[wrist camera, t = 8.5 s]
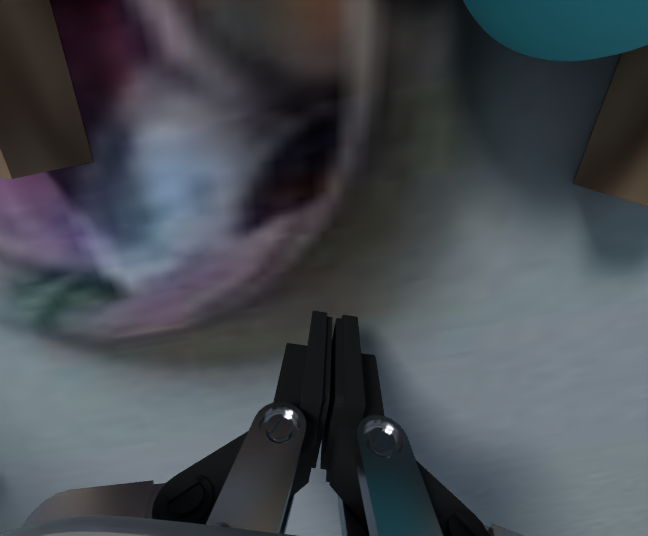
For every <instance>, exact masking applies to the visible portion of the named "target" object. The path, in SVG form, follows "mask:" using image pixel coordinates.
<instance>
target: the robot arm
mask: <svg viewBox="0 0 648 536" xmlns="http://www.w3.org/2000/svg"><path fill="white" fill-rule="evenodd" d="M321 440H322V447H321V469H326V470H327V474H326V482H330V486H331V487H332V488H333V490H334V491H335V492H336V493H337V494H338V507H339V514H340V522H341V530H342V536H523V535H521V534H518V533H515V532H513V531H510V530H507V529H505V528H502V527H500V526H497V525H494V524H492V525H491V526H490V527H488V526H485V525H483V523H482V522H481V521H480V520H479V519H478V518H477V517H476V515H475V514H474V513H473V512H471V511H470V510H469V509H468V508H467V507H466V506H465V505H464V504H463V503H462V502H461V501H460V500H458V499H457V498H456V497H455V496H454V495H453V494H452V493H451V492H450V491H449V490H448V489H447V488H445V487H444V486H443V485H442V484H441V483H440V482H439V481H438V480H437V479H436V478H435V477H434V476H433V475H431V474H430V473H429V472H428V471H427V470H426V469H425V468H424V467H423V466H422V465H421V464H420V463H418V462H417V461H416V459H415V456H414V454H413V451H412V448H411V445H410V443H409V440H408V437H407V435H406V433H405V432H404V430H403V429H402V428H401V426H400V425H399V424H398V423H396V422H395V421H393V420H392V419H390V418H388V417H385V416H384V410H383V403H382V397H381V390H380V383H379V377H378V370H377V363H376V358H375V356H374V355H369V354H362V353H361V349H360V338H359V327H358V317H354V316H347V315H343V316H342V319H341V318H337V319H336V323H335V328H334V333H333V338H332V317H327V313H326V312H319V311H313V313H312V319H311V326H310V333H309V339H308V346H305V345H298V344H291V343H287V345H286V349H285V354H284V358H283V363H282V367H281V371H280V376H279V380H278V385H277V389H276V394H275V398H274V403H271V404H269V405H266V406H265V407H263V408H262V409H261V410H260V411H259V412H258V413H257V415H256V416H255V418H254V420H253V423H252V425H251V427H250V429H249V431H248V432H246V433H244V434H243V435H241V436H239V437H238V438H236V439H235V440H233V441H231V442H230V443H228V444H226V445H225V446H223V447H221V448H220V449H218V450H217V451H215V452H213V453H212V454H210V455H208V456H207V457H205V458H204V459H202V460H200V461H199V462H197V463H195V464H194V465H192V466H190V467H189V468H187V469H186V470H184V471H182V472H181V473H179V474H177V475H176V476H174V477H173V478H172V479H171V480H169V481H168V482H167V483H162V484H154V482H153V480H152V481H144V482H135V483H126V484H117V485H109V486H100V487H91V488H82V489H74V490H68V491H65V492H61V493H58V494H56V495H54V496H52V497H51V498H49V499H47V500H45V501H44V502H43V503H42V504H41V505H40V506H38V507H37V508H36V509H35V510H34V511H33V512H32V513H31V515H30V516H29V518H28V519H27V520H26V522H25V523H24V525H23V527H21V528H18V529H14V530H11V531H8V532H5V533H3V534H0V536H295V535H287V534H285V531H286V527H287V523H288V520H289V516H290V512H291V508H292V504H293V500H294V495H295V493H297V492H298V491H299V490H300V489H301V488H302V487H304V486H305V485H306V484H307V483H308V482H309V477H310V472H311V468H316V463H317V458H318V454H319V449H320V444H321Z"/></svg>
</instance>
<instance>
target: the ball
mask: <svg viewBox="0 0 648 536" xmlns="http://www.w3.org/2000/svg"><path fill="white" fill-rule="evenodd" d="M463 1H464V3H465V5H466V7H467V9H468V10H469V12H470V13H471V15H472V16H473V18H474V19H475V20H476V21H477V23H478V24H479V25H480V26H481V27H482V29H483V30H484V31H485V32H486V33H487V34H489V35H490V36H491V37H492V38H493V39H495V40H496V41H497V42H499V43H500V44H502V45H504V46H505V47H507V48H509V49H511V50H513V51H516V52H518V53H521V54H524V55H527V56H530V57H534V58H538V59H544V60H551V61H582V60H591V59H596V58H602V57H607V56H612V55H617V54H621V53H624V52H628V51H631V50H635V49H637V48H640V47H643V46H646V45H648V0H463Z"/></svg>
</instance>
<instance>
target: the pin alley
mask: <svg viewBox="0 0 648 536" xmlns="http://www.w3.org/2000/svg"><path fill="white" fill-rule="evenodd" d="M91 162H93V159H92V155H91V151H90V148H89V144H88V140H87V137H86V133H85V129H84V126H83V122H82V118H81V114H80V111H79V107H78V103H77V100H76V96H75V92H74V89H73V85H72V81H71V77H70V74H69V70H68V66H67V63H66V59H65V55H64V52H63V48H62V44H61V40H60V37H59V33H58V29H57V26H56V22H55V18H54V15H53V11H52V7H51V3H50V0H0V178H8V179H13V178H18V177H23V176H27V175H32V174H37V173H42V172H47V171H52V170H57V169H62V168H66V167H71V166H76V165H81V164H86V163H91ZM573 184H576V185H580V186H583V187H586V188H589V189H593V190H596V191H599V192H602V193H606V194H609V195H612V196H615V197H618V198H622V199H625V200H628V201H631V202H635V203H638V204H641V205H644V206H648V45H646V46H643V47H640V48H637V49H635V50H631V51H628V52H624V53H622V54H621V57H620V59H619V62H618V65H617V67H616V70H615V73H614V75H613V78H612V81H611V83H610V86H609V89H608V91H607V94H606V97H605V99H604V102H603V105H602V107H601V110H600V113H599V115H598V118H597V121H596V123H595V126H594V129H593V131H592V134H591V137H590V139H589V142H588V145H587V147H586V150H585V153H584V155H583V158H582V161H581V163H580V166H579V169H578V171H577V174H576V177H575V179H574V182H573Z"/></svg>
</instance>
